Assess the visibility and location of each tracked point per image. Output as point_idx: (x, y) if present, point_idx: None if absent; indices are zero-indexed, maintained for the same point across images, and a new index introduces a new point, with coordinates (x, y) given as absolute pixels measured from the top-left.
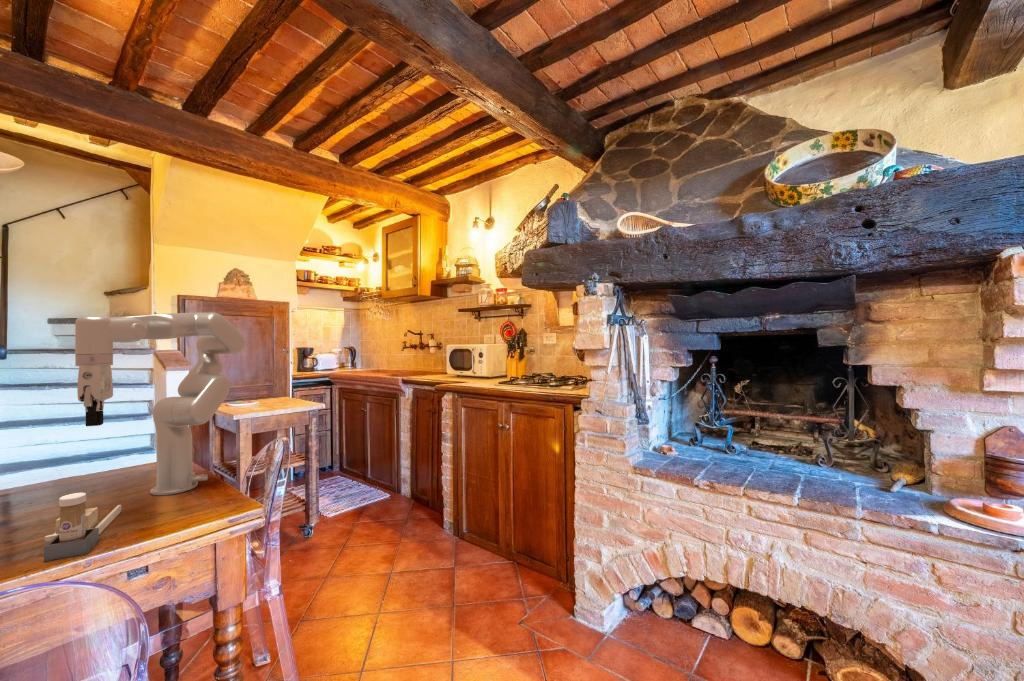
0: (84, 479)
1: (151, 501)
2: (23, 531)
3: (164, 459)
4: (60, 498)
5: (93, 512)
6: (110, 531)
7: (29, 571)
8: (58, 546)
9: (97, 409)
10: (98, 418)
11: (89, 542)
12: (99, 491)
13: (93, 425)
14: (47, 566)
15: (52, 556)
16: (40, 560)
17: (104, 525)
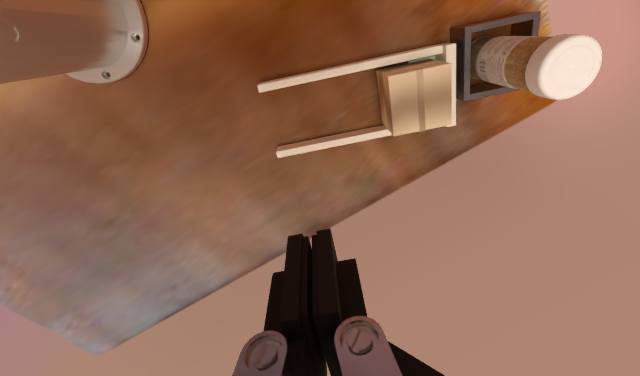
0: (24, 286)
1: (193, 39)
2: (328, 210)
3: (49, 26)
4: (582, 90)
5: (418, 69)
6: (395, 33)
7: None
8: None
9: (387, 341)
10: (335, 273)
11: (514, 15)
12: (107, 212)
13: (336, 259)
14: None
15: None
16: None
17: (375, 58)
